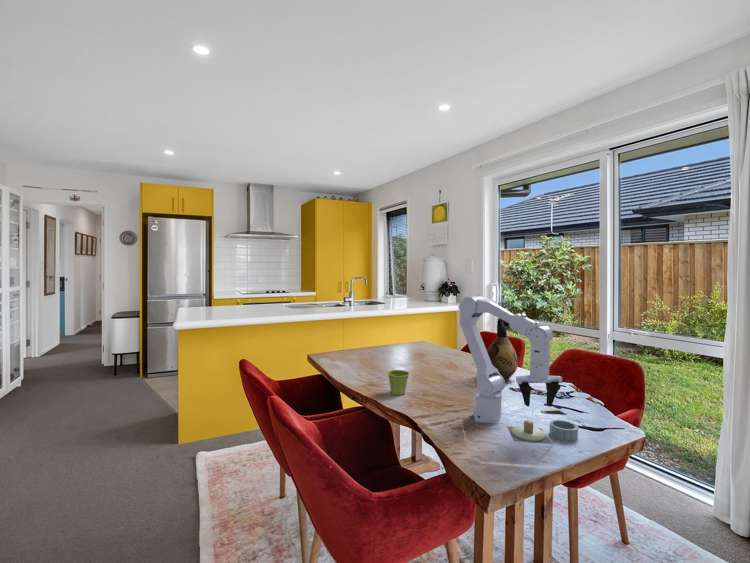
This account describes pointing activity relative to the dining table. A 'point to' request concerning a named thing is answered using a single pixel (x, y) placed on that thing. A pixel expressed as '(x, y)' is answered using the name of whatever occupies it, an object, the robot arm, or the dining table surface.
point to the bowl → (563, 430)
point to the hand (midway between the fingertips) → (538, 405)
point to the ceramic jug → (503, 352)
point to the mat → (529, 441)
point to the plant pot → (398, 381)
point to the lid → (528, 432)
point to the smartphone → (556, 411)
